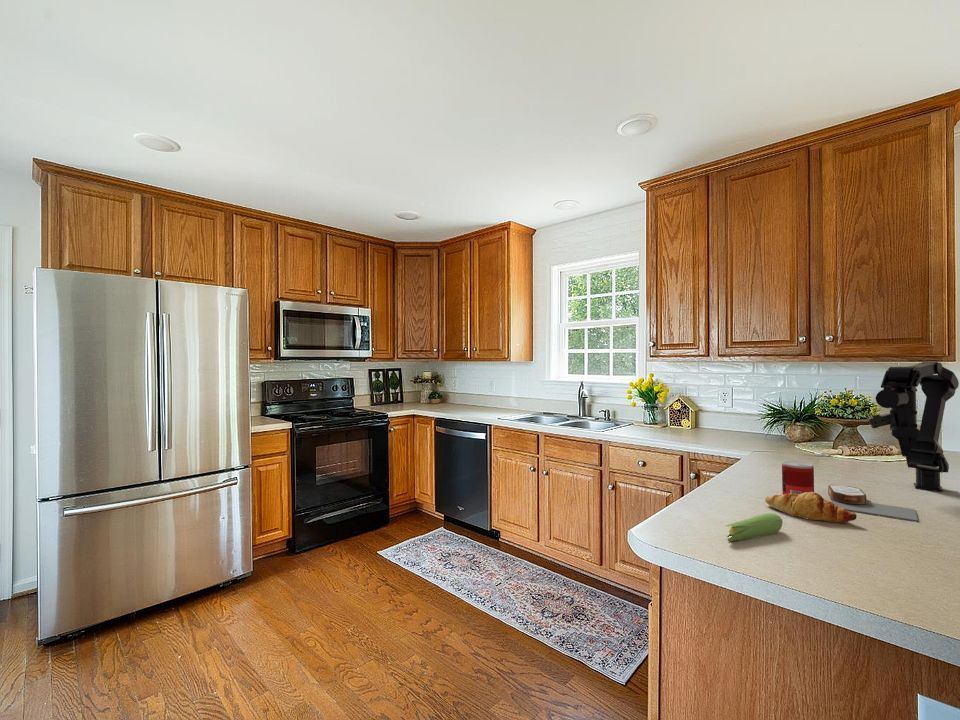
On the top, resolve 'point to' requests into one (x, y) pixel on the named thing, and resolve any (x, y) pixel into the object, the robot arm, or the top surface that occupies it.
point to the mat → (880, 510)
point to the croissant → (810, 507)
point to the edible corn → (755, 527)
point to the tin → (847, 494)
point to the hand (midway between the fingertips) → (904, 456)
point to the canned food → (797, 477)
